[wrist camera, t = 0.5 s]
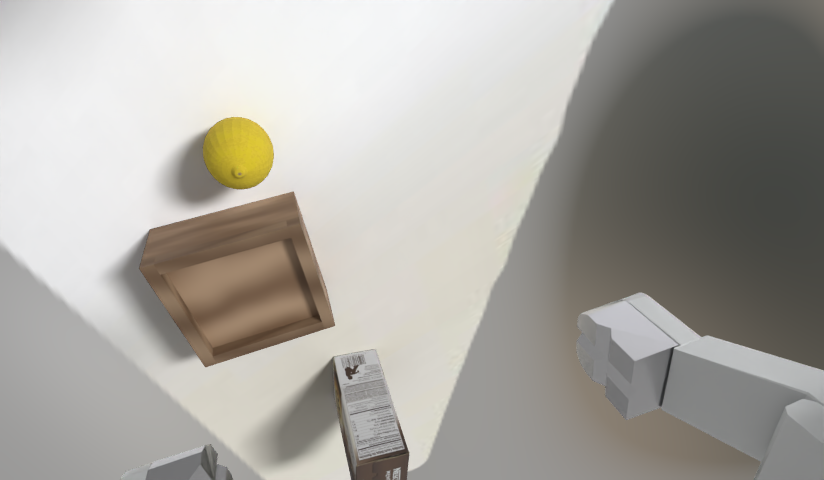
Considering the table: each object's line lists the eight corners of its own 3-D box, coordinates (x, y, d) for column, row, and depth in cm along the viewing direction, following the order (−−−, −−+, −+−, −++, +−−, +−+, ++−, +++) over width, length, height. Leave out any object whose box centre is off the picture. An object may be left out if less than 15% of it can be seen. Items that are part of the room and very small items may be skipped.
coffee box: (375, 388, 68) (406, 493, 55) (332, 397, 66) (355, 508, 53) (377, 347, 63) (411, 453, 50) (331, 355, 61) (355, 468, 48)
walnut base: (149, 229, 43) (138, 268, 38) (293, 191, 45) (300, 223, 40) (208, 325, 51) (205, 367, 47) (326, 289, 54) (335, 325, 49)
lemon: (216, 167, 41) (213, 211, 35) (196, 109, 38) (189, 146, 32) (277, 157, 43) (283, 197, 36) (262, 100, 39) (267, 134, 33)
